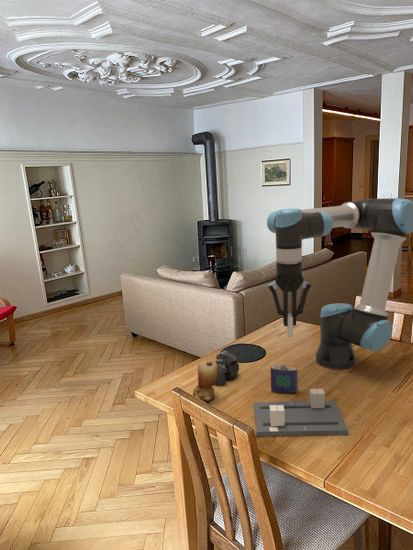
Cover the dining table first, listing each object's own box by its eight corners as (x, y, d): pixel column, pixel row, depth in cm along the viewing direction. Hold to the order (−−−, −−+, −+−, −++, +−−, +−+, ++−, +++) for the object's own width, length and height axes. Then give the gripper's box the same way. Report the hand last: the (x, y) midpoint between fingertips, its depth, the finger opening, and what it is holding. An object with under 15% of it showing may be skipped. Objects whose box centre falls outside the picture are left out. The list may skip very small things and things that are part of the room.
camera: (234, 387, 147) (233, 362, 145) (207, 385, 150) (206, 360, 148) (241, 370, 160) (240, 347, 157) (217, 368, 162) (216, 345, 160)
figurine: (190, 391, 146) (198, 353, 143) (211, 394, 147) (219, 356, 144) (192, 406, 136) (200, 365, 133) (214, 409, 137) (222, 368, 134)
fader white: (283, 420, 123) (283, 404, 121) (284, 425, 120) (284, 410, 119) (269, 420, 123) (269, 404, 122) (270, 426, 120) (270, 410, 119)
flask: (298, 390, 142) (297, 362, 140) (297, 395, 140) (297, 366, 137) (271, 388, 145) (270, 360, 142) (270, 392, 142) (269, 364, 140)
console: (334, 404, 133) (334, 400, 132) (348, 434, 117) (348, 429, 117) (253, 406, 134) (253, 401, 134) (256, 436, 119) (256, 431, 118)
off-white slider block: (322, 402, 130) (322, 388, 129) (324, 408, 128) (324, 393, 126) (309, 403, 131) (309, 388, 130) (311, 408, 128) (311, 393, 127)
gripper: (308, 257, 126) (308, 330, 131) (266, 259, 127) (267, 331, 132) (313, 262, 118) (313, 339, 124) (268, 264, 119) (270, 340, 125)
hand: (289, 335), depth 128 cm, fingers closed
